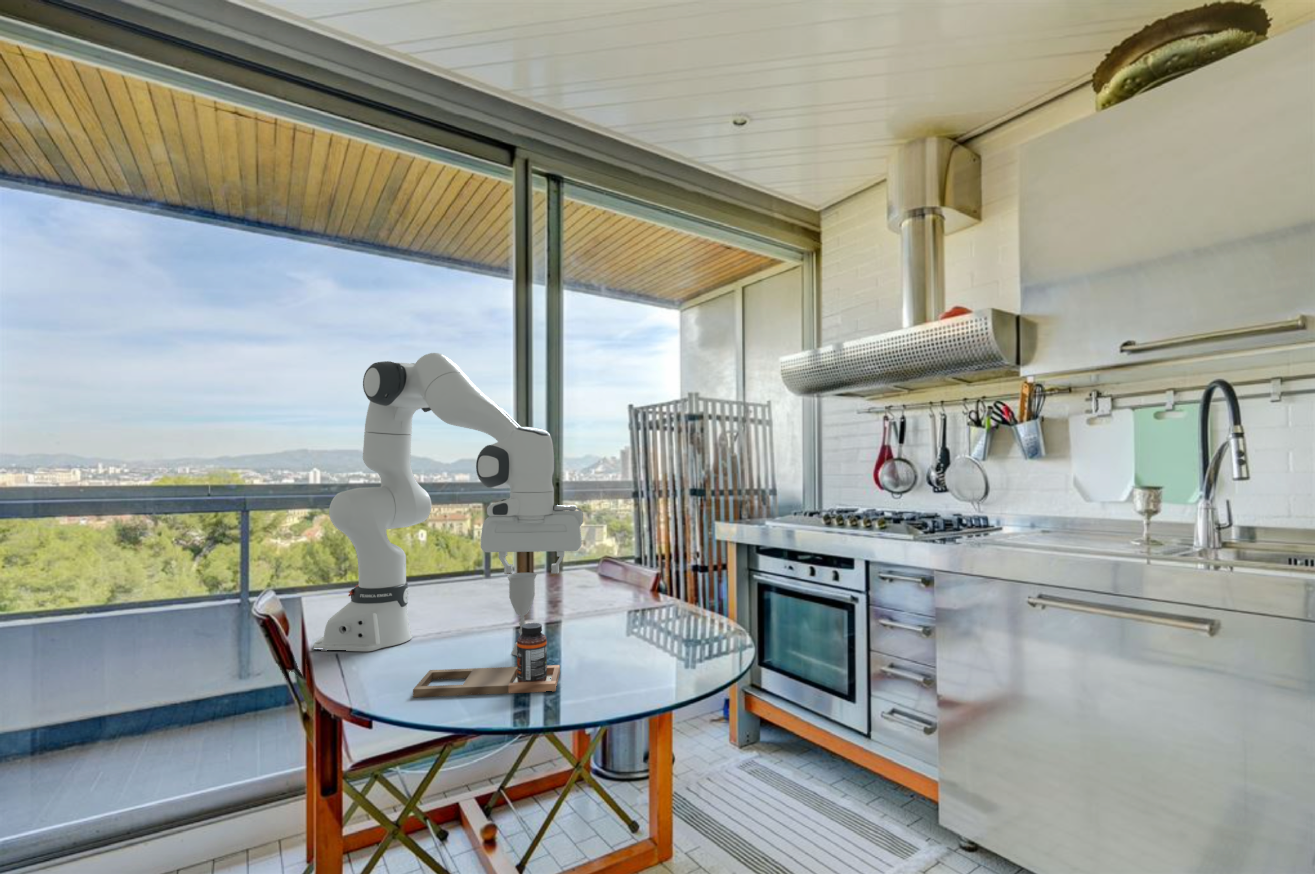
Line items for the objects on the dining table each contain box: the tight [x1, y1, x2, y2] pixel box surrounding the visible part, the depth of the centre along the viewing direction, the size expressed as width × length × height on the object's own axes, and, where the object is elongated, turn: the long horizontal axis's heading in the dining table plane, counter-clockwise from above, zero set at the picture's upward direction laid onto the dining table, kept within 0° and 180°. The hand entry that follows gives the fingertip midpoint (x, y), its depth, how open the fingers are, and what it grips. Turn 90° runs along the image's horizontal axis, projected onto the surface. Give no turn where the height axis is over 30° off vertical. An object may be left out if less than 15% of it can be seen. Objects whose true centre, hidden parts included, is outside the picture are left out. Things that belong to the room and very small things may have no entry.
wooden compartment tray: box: [412, 664, 561, 698], centre depth 124 cm, size 27×11×2 cm, turn 94°
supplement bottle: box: [516, 622, 548, 682], centre depth 125 cm, size 6×6×11 cm
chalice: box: [506, 572, 538, 657], centre depth 145 cm, size 7×7×18 cm
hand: (531, 573), depth 126 cm, fingers open, 8 cm apart
